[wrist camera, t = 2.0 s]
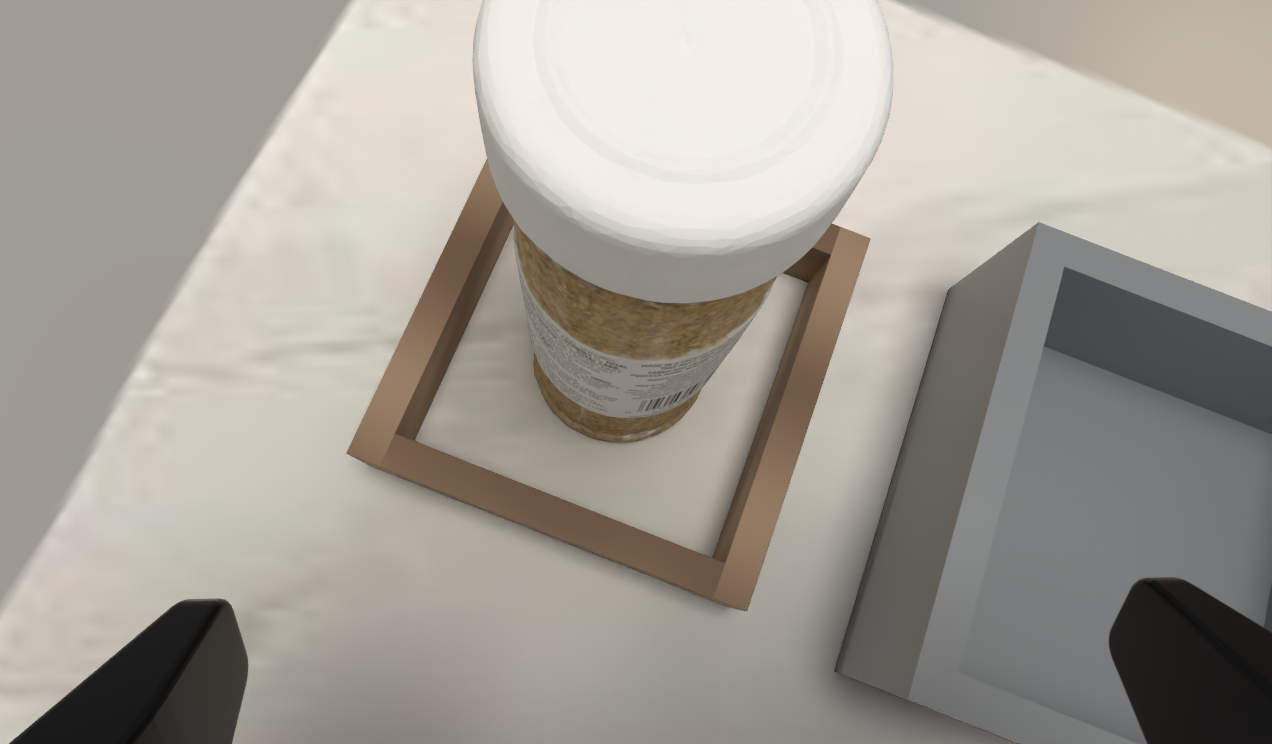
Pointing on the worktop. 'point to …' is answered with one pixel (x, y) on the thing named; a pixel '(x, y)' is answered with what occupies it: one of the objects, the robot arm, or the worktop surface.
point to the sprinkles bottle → (668, 177)
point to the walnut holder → (718, 578)
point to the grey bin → (1065, 487)
